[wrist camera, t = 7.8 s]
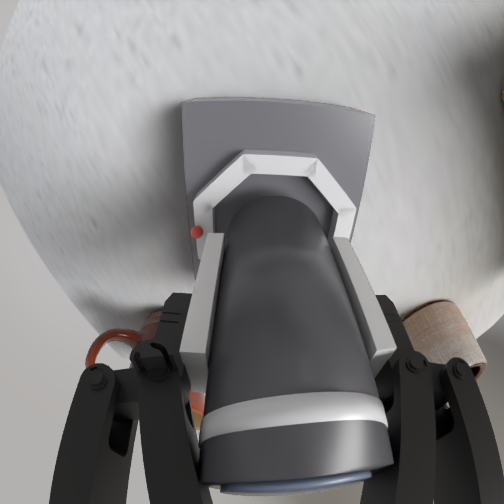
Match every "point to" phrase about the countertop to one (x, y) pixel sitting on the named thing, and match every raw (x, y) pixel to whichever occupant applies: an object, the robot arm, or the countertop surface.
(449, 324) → the planter
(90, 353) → the mug
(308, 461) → the lens
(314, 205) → the camera body
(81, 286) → the countertop surface
